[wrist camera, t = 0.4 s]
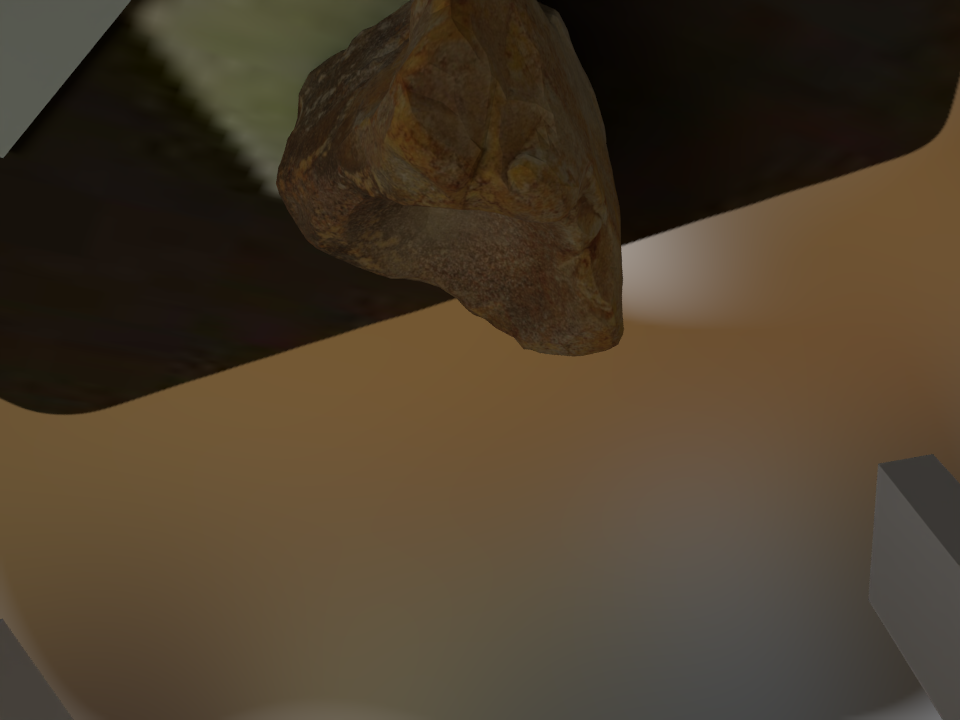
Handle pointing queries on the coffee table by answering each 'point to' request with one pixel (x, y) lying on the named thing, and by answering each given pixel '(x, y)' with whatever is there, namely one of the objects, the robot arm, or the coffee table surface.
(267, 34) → the coffee table surface
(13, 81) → the mat
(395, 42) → the rough brown rock
